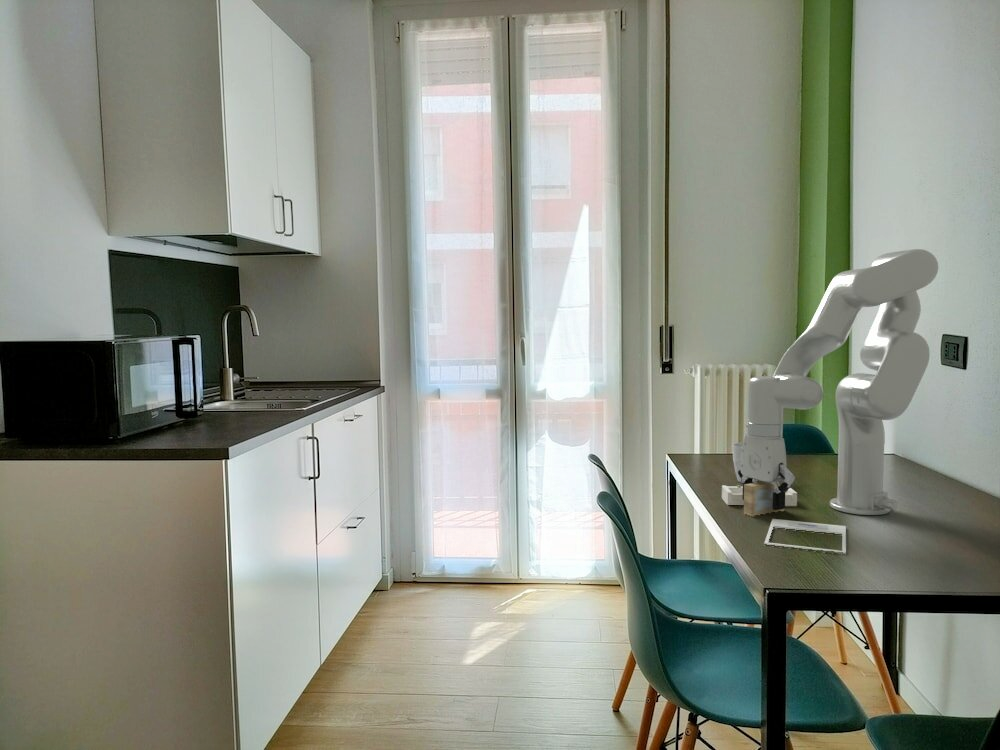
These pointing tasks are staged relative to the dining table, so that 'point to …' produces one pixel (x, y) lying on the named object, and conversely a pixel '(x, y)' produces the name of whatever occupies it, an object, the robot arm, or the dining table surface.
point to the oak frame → (758, 498)
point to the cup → (738, 458)
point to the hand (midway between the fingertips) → (763, 504)
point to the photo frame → (808, 527)
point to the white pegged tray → (735, 496)
